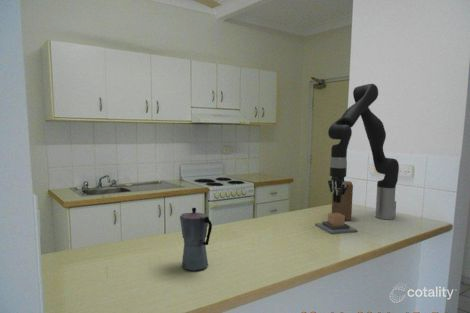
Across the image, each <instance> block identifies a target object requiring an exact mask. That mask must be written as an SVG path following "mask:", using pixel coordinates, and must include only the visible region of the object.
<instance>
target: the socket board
mask: <svg viewBox="0 0 470 313" xmlns="http://www.w3.org/2000/svg"><path fill="white" fill-rule="evenodd" d="M314 225H315V226H316V227H317V228H320V229H322V230H323V231H324V232H326V233H328V234H330V235H338V234H350V233H351V234H352V233H358V229H355V228H354V227H352V226H350V225H349V224H347V223H344V225H343V226H332V225H330V224H328V220H326V221H325V220H324V221H322V222H317V223H315V224H314Z"/></svg>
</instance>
